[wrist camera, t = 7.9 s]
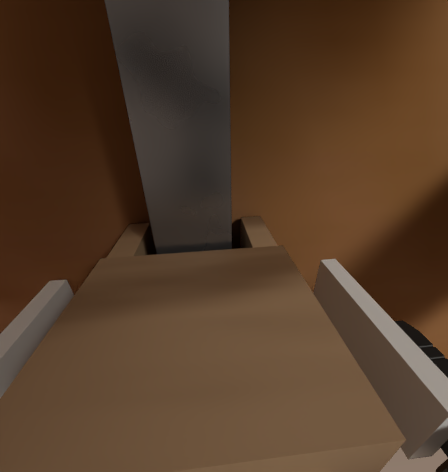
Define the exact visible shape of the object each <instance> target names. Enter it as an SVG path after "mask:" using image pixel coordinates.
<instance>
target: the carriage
mask: <svg viewBox="0 0 448 472" xmlns="http://www.w3.org/2000/svg"><path fill="white" fill-rule="evenodd" d="M405 441H406V439H405V437H404V436H403V434H402V432H401V431H400V429H399V428H398V426H397V425H396V423H395V421H394V420H393V418H392V417H391V415H390V413H389V412H388V410H387V409H386V407H385V406H384V404H383V402H382V401H381V399H380V398H379V396H378V395H377V393H376V391H375V390H374V388H373V387H372V385H371V384H370V382H369V380H368V379H367V377H366V376H365V374H364V373H363V371H362V369H361V368H360V366H359V365H358V363H357V362H356V360H355V358H354V357H353V355H352V354H351V352H350V351H349V349H348V347H347V346H346V344H345V343H344V341H343V339H342V338H341V336H340V335H339V333H338V332H337V330H336V328H335V327H334V325H333V324H332V322H331V321H330V319H329V317H328V316H327V314H326V313H325V311H324V310H323V308H322V306H321V305H320V303H319V302H318V300H317V299H316V297H315V295H314V294H313V292H312V291H311V289H310V288H309V286H308V284H307V283H306V281H305V280H304V278H303V277H302V275H301V273H300V272H299V270H298V269H297V267H296V265H295V264H294V262H293V261H292V259H291V258H290V256H289V254H288V253H287V251H286V250H285V248H284V247H283V245H282V246H278V245H277V244H276V242H275V240H274V239H273V237H272V235H271V233H270V232H269V230H268V228H267V227H266V225H265V223H264V222H263V220H262V218H261V217H260V216H253V217H241V248H240V249H226V250H212V251H198V252H184V253H170V254H156V251H155V246H154V242H153V237H152V232H151V227H150V223H140V224H129V225H128V227H127V228H126V229H125V231H124V232H123V234H122V235H121V237H120V238H119V240H118V241H117V243H116V244H115V246H114V247H113V249H112V250H111V252H110V253H109V255H108V256H107V257H106V258H101V259H100V260H99V261H98V263H97V264H96V266H95V267H94V268H93V270H92V271H91V273H90V274H89V275H88V277H87V278H86V280H85V281H84V282H83V284H82V285H81V287H80V288H79V289H78V291H77V292H76V294H75V295H74V296H73V298H72V299H71V301H70V302H69V303H68V305H67V306H66V308H65V309H64V310H63V312H62V313H61V315H60V316H59V317H58V319H57V320H56V322H55V323H54V324H53V326H52V327H51V329H50V330H49V331H48V333H47V334H46V335H45V337H44V338H43V340H42V341H41V342H40V344H39V345H38V347H37V348H36V349H35V351H34V352H33V354H32V355H31V356H30V358H29V359H28V361H27V362H26V363H25V365H24V366H23V368H22V369H21V370H20V372H19V373H18V375H17V376H16V377H15V379H14V380H13V382H12V383H11V384H10V386H9V387H8V389H7V390H6V391H5V393H4V394H3V396H2V397H1V398H0V472H380V471H381V469H382V468H383V467H384V466H385V465H386V463H387V462H388V461H389V460H390V459H391V458H392V456H393V455H394V454H395V453H396V452H397V450H398V449H399V448H400V447H401V446H402V444H403V443H404V442H405Z"/></svg>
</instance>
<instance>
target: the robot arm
mask: <svg viewBox="0 0 448 472" xmlns="http://www.w3.org/2000/svg"><path fill="white" fill-rule="evenodd" d="M313 294H314V295H315V297H316V299H317V300H318V302H319V303H320V305H321V306H322V308H323V310H324V311H325V313H326V314H327V316H328V317H329V319H330V321H331V322H332V324H333V325H334V327H335V328H336V330H337V332H338V333H339V335H340V336H341V338H342V339H343V341H344V343H345V344H346V346H347V347H348V349H349V351H350V352H351V354H352V355H353V357H354V358H355V360H356V362H357V363H358V365H359V366H360V368H361V369H362V371H363V373H364V374H365V376H366V377H367V379H368V380H369V382H370V384H371V385H372V387H373V388H374V390H375V391H376V393H377V395H378V396H379V398H380V399H381V401H382V402H383V404H384V406H385V407H386V409H387V410H388V412H389V413H390V415H391V417H392V418H393V420H394V421H395V423H396V425H397V426H398V428H399V429H400V431H401V432H402V434H403V436H404V437H405V439H406V441H405V442H404V443H403V444H402V446H401V448H402V450H403V451H404V453H405V455H406V457H407V458H408V459H414V458H421V457H429V456H432V455H433V454H434V453H435V452H436V451H437V450H439V449H440V448H441V449H442V450H443V451H444V453H445V454H446V455H447V457H448V359H445V358H444V355H443V354H442V353H441V352H440V351H439V350H438V349H437V348H436V347H433V344H432V343H431V342H430V341H429V340H428V339H427V338H426V337H425V336H424V335H423V334H422V333H420V332H419V331H418V330H417V329H415V328H414V327H412V326H410V325H409V324H407V323H406V322H404V321H393V320H392V318H391V317H390V316H389V315H388V314H387V313H386V312H385V311H384V310H383V309H382V308H381V307H380V306H379V305H378V304H377V303H376V302H375V300H374V299H373V298H372V297H371V296H370V295H369V294H368V293H367V292H366V291H365V290H364V289H363V288H362V287H361V286H360V285H359V284H358V282H357V281H356V280H355V279H354V278H353V277H352V276H351V275H350V274H349V273H348V272H347V271H346V270H345V269H344V268H343V267H342V266H341V265H340V263H339V262H338V261H337V260H336V259H328V260H321V261H320V266H319V270H318V275H317V279H316V284H315V288H314V293H313ZM73 296H74V294H73V292H72V290H71V288H70V285H69V283H68V281H67V280H54V281H49V282H48V283H47V284H46V285H45V286H44V287H43V289H42V290H41V291H40V292H39V293H38V294H37V295H36V296H35V297H34V298H33V299H32V300H31V301H30V303H29V304H28V305H27V306H26V307H25V308H24V309H23V310H22V311H21V312H20V313H19V314H18V315H17V317H16V318H15V319H14V320H13V321H12V322H11V323H10V324H9V325H8V326H7V327H6V328H5V329H4V331H3V332H2V333H1V334H0V398H1V397H2V396H3V394H4V393H5V391H6V390H7V389H8V387H9V386H10V384H11V383H12V382H13V380H14V379H15V377H16V376H17V375H18V373H19V372H20V370H21V369H22V368H23V366H24V365H25V363H26V362H27V361H28V359H29V358H30V356H31V355H32V354H33V352H34V351H35V349H36V348H37V347H38V345H39V344H40V342H41V341H42V340H43V338H44V337H45V335H46V334H47V333H48V331H49V330H50V329H51V327H52V326H53V324H54V323H55V322H56V320H57V319H58V317H59V316H60V315H61V313H62V312H63V310H64V309H65V308H66V306H67V305H68V303H69V302H70V301H71V299H72V298H73ZM436 472H448V459H447V460H446V461H445V462H444V463H442V464H441V465H440V466H439V467H438V468H437V469H436Z"/></svg>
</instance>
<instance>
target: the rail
mask: <svg viewBox="0 0 448 472" xmlns="http://www.w3.org/2000/svg"><path fill="white" fill-rule="evenodd" d="M105 5H106V10H107V15H108V19H109V24H110V29H111V34H112V39H113V44H114V49H115V53H116V58H117V63H118V68H119V73H120V78H121V83H122V87H123V92H124V97H125V102H126V107H127V112H128V116H129V121H130V126H131V131H132V136H133V141H134V146H135V150H136V155H137V160H138V165H139V170H140V175H141V180H142V184H143V189H144V194H145V199H146V204H147V209H148V213H149V218H150V223H151V228H152V233H153V238H154V243H155V247H156V252H157V254H170V253H184V252H198V251H212V250H226V249H232V221H231V141H230V61H229V0H105Z"/></svg>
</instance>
